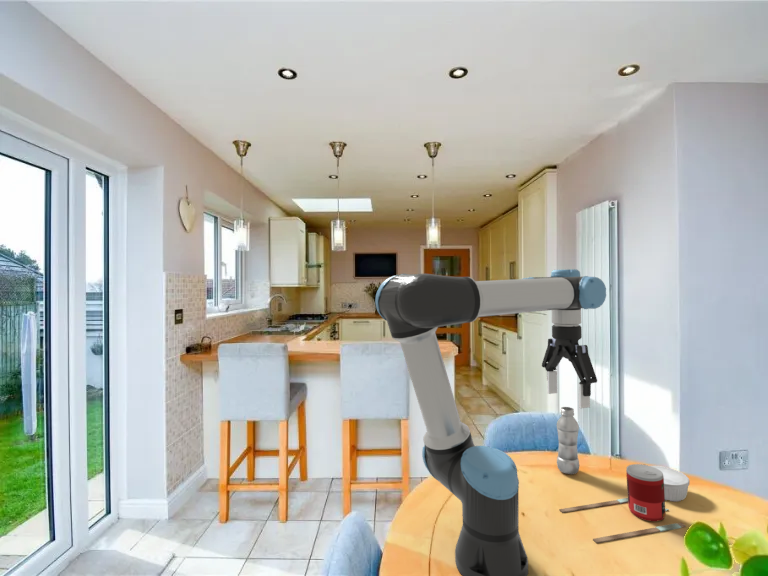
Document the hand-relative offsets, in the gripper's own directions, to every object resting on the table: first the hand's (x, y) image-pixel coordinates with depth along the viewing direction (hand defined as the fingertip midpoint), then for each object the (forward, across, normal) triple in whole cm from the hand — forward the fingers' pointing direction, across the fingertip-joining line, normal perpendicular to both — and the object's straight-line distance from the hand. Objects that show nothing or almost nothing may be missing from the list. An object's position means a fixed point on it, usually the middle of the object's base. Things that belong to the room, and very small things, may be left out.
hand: (567, 400), depth 111 cm
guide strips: (+27, -13, -5) cm, 30 cm away
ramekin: (+27, -6, -26) cm, 38 cm away
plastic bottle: (+27, +11, -8) cm, 30 cm away
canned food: (+27, -13, -13) cm, 32 cm away
